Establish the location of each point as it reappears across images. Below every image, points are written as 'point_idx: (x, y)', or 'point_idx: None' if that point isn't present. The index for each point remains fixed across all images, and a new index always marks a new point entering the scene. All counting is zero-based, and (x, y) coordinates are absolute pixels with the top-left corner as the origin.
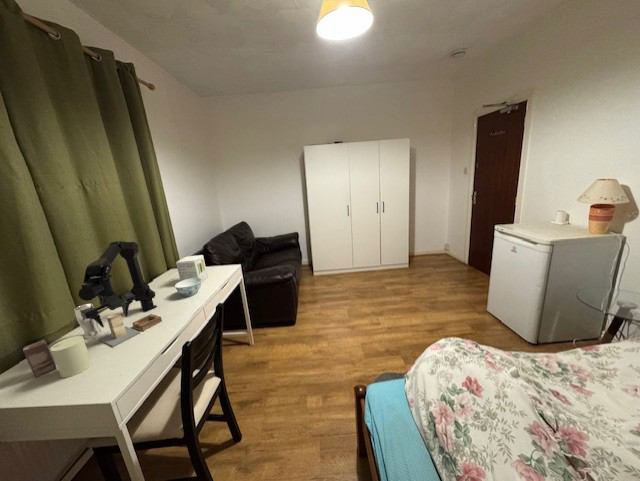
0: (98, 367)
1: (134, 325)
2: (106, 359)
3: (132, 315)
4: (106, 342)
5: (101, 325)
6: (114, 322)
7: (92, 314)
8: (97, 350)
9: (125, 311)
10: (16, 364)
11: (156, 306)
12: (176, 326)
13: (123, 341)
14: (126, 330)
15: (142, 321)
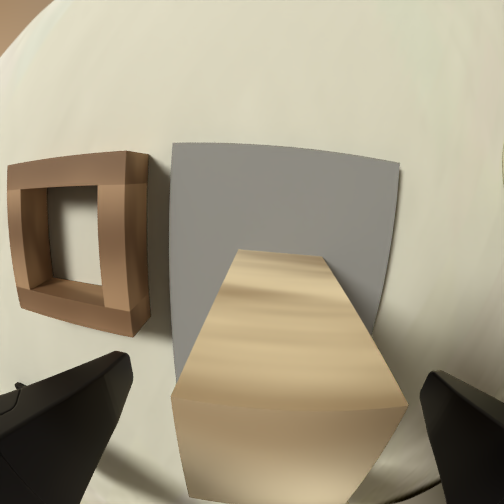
0: (496, 57)
1: (138, 302)
2: (465, 71)
3: (110, 443)
4: (381, 288)
5: (470, 386)
6: (333, 342)
7: None
8: (443, 256)
9: (64, 404)
10: None
11: (16, 383)
12: (69, 4)
13: (321, 151)
14: (205, 314)
15: (83, 293)
